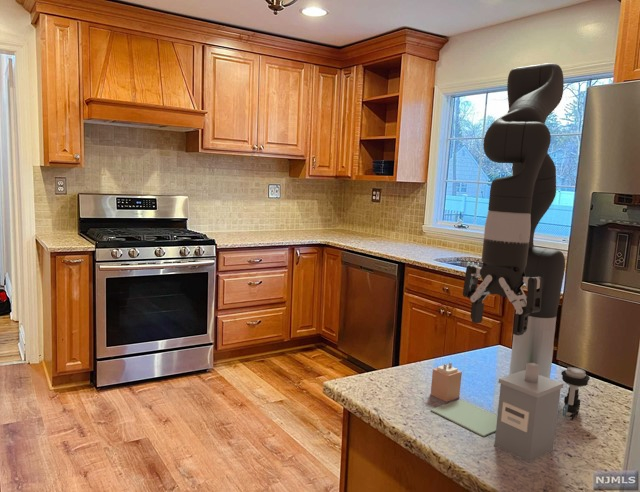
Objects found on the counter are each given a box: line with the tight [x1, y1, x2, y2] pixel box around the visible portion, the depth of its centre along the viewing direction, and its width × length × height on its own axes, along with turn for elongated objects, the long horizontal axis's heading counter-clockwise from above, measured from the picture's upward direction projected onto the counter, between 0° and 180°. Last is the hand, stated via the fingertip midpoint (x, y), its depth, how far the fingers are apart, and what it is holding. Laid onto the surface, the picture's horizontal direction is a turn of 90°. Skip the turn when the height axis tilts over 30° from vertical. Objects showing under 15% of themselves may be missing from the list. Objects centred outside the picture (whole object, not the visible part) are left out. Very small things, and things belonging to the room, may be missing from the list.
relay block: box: [430, 362, 463, 403], centre depth 117 cm, size 4×4×8 cm
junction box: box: [493, 363, 565, 463], centre depth 95 cm, size 9×8×16 cm
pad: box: [430, 398, 498, 438], centre depth 107 cm, size 10×13×1 cm
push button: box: [560, 366, 591, 421], centre depth 109 cm, size 7×5×10 cm
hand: (496, 328), depth 93 cm, fingers open, 8 cm apart
